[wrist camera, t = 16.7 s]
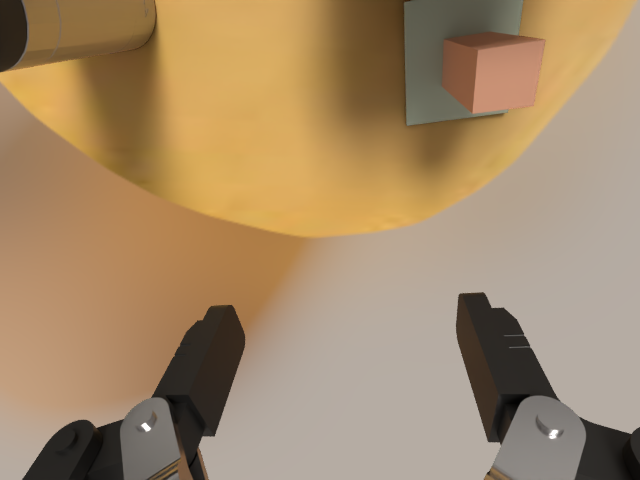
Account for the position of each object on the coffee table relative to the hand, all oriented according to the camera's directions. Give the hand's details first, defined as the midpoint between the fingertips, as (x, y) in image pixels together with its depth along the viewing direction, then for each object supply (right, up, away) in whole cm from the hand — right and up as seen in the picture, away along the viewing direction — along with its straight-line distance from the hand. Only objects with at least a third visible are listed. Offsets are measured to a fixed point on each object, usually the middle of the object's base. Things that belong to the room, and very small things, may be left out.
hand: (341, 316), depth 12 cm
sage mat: (+14, +22, +24) cm, 35 cm away
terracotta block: (+14, +22, +23) cm, 35 cm away
